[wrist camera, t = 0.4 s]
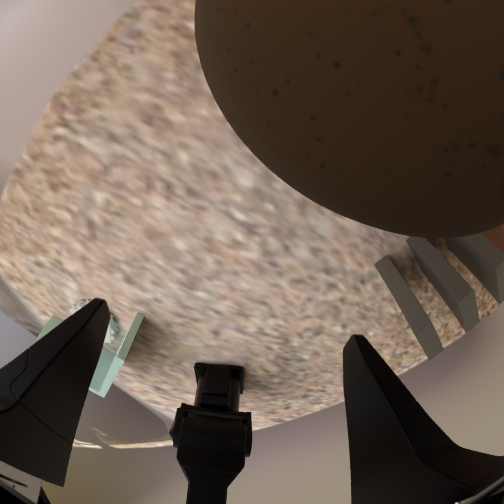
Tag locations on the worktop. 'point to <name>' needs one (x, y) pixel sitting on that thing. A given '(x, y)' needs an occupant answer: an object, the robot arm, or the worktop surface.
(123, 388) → the worktop surface
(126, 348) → the right angle wall
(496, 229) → the domino
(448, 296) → the domino
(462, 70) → the olive oil
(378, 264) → the domino
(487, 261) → the domino
